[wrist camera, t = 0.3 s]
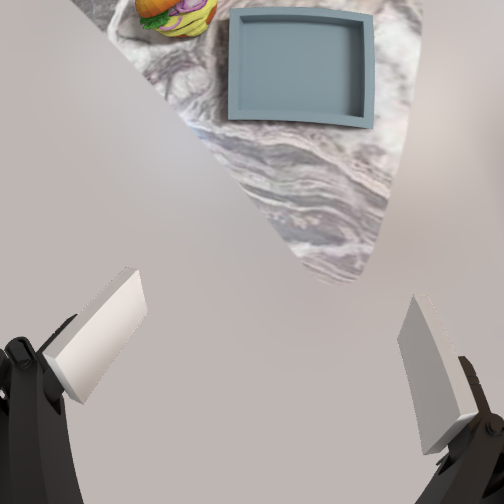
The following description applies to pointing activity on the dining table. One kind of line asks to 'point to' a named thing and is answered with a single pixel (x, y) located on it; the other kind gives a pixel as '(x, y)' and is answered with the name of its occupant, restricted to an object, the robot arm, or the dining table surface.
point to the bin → (301, 65)
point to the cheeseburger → (176, 16)
